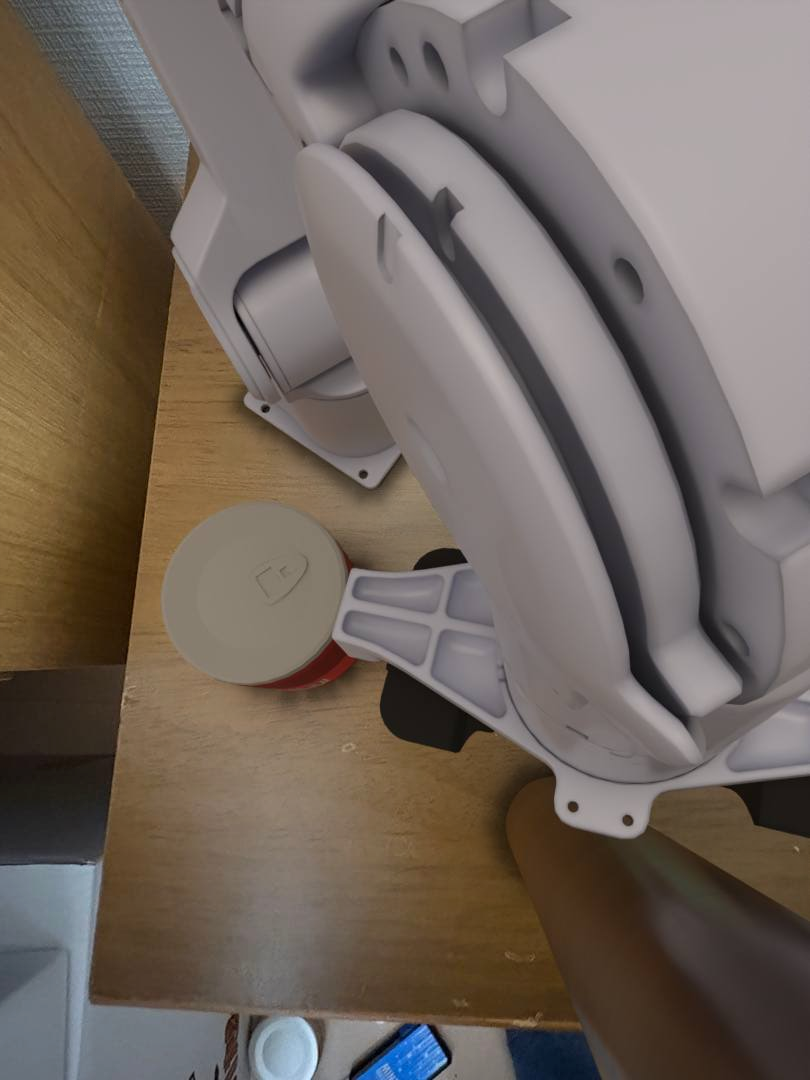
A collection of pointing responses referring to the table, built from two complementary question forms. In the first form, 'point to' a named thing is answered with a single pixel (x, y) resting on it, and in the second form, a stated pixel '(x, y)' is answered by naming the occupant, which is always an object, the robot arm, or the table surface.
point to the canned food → (258, 598)
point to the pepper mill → (665, 952)
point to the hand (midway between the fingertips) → (601, 724)
